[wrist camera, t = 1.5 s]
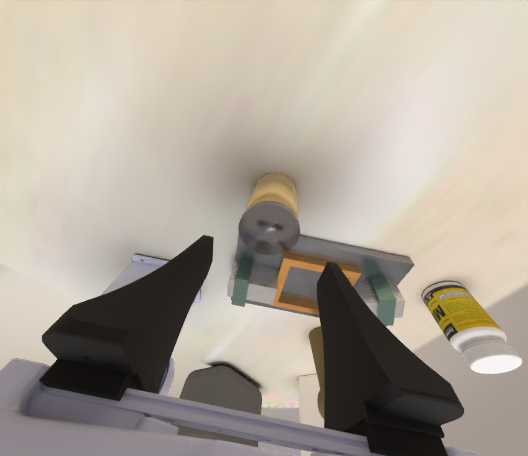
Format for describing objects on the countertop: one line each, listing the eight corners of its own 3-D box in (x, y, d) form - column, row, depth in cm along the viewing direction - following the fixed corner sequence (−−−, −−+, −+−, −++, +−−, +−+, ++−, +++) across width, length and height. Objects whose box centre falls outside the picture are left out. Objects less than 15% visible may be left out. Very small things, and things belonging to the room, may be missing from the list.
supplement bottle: (419, 285, 26) (466, 356, 19) (463, 276, 24) (532, 349, 17) (422, 307, 28) (466, 377, 21) (463, 300, 26) (525, 373, 20)
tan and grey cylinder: (250, 208, 22) (236, 248, 16) (256, 167, 20) (242, 198, 14) (290, 216, 22) (291, 260, 16) (302, 176, 20) (307, 212, 14)
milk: (334, 383, 45) (366, 581, 27) (309, 386, 47) (323, 570, 29) (323, 372, 42) (349, 582, 24) (297, 376, 45) (304, 570, 27)
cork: (336, 322, 32) (354, 413, 23) (351, 340, 35) (372, 429, 26) (302, 331, 35) (306, 416, 26) (318, 347, 37) (328, 430, 28)
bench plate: (232, 293, 31) (224, 321, 27) (240, 223, 23) (231, 248, 20) (362, 319, 31) (372, 350, 27) (412, 257, 24) (435, 289, 20)
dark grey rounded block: (190, 366, 48) (154, 466, 35) (226, 358, 44) (200, 469, 31) (232, 392, 55) (215, 484, 42) (267, 388, 50) (260, 488, 38)
